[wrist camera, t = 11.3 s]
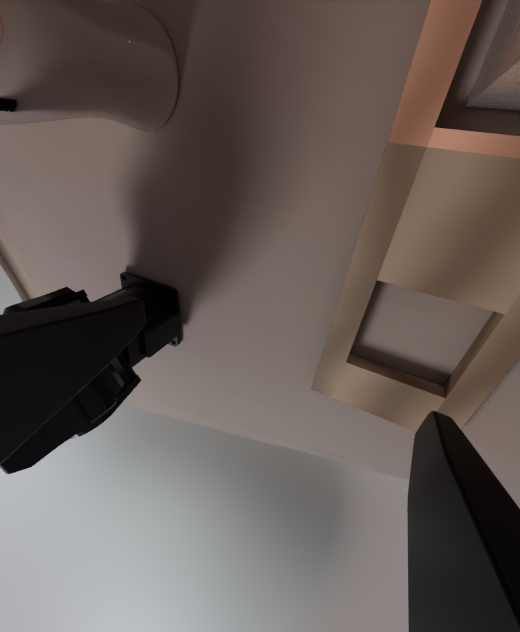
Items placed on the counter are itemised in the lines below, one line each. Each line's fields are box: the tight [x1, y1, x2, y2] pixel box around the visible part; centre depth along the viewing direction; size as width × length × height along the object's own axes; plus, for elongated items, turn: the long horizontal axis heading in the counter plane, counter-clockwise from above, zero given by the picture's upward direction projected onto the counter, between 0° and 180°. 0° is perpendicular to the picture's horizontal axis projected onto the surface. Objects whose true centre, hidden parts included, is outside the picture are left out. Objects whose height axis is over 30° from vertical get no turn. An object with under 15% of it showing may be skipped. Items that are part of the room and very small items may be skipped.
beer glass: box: [0, 0, 178, 131], centre depth 12 cm, size 7×7×15 cm
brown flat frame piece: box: [311, 0, 520, 432], centre depth 14 cm, size 10×26×1 cm, turn 173°
